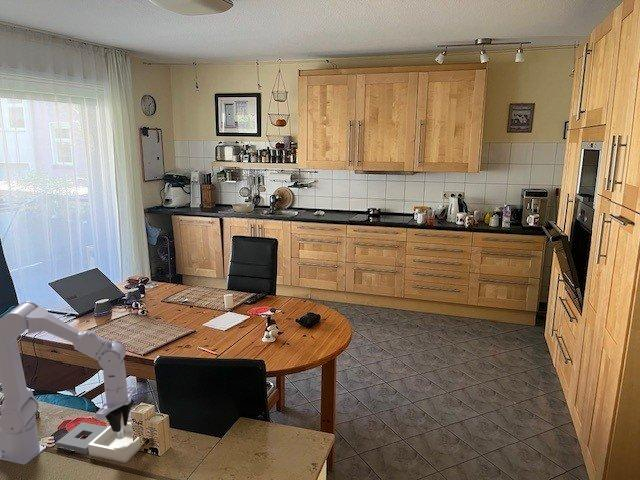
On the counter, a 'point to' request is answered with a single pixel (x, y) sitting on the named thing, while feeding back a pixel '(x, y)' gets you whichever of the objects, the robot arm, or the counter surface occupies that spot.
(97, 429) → the lock plate
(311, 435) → the counter surface
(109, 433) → the tray
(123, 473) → the counter surface
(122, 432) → the lock pin
